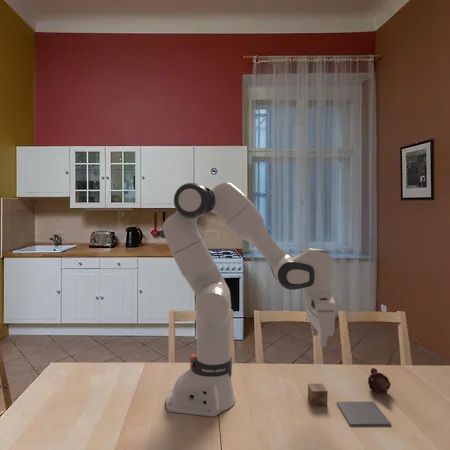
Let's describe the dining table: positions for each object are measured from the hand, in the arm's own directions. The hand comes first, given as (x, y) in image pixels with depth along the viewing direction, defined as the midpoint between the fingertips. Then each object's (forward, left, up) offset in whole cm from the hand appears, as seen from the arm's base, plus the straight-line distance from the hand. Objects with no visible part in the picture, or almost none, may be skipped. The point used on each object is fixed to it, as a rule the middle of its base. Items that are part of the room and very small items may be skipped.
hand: (318, 340), depth 115 cm
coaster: (+12, -7, -20) cm, 25 cm away
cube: (0, 0, -21) cm, 21 cm away
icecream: (+23, +6, -21) cm, 31 cm away
